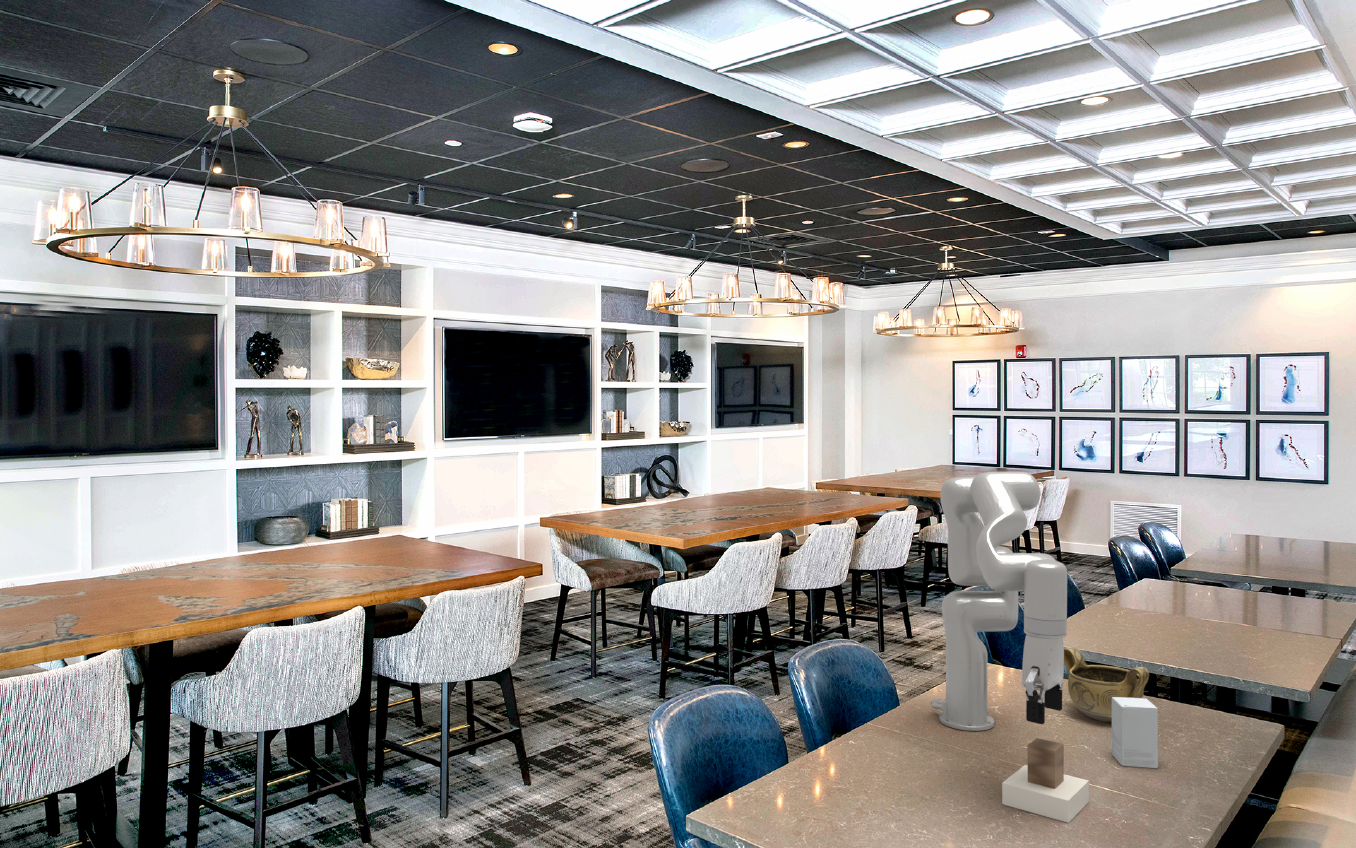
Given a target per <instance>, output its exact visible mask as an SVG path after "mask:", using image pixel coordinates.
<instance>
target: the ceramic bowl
mask: <svg viewBox="0 0 1356 848" xmlns="http://www.w3.org/2000/svg"><path fill="white" fill-rule="evenodd" d="M1064 666H1065V667H1066V671H1067V673H1068V680H1067V687H1068V688H1067V689H1068V693H1069V696H1070V699H1071V702H1072V703H1073V705H1074V706H1075V707H1076V708H1077V710H1079V711H1080V712H1081V713H1083V715H1085V716H1087V717H1089V718H1091V719H1093V720H1095V719H1096V720H1097V721H1099V722H1105V723H1107V722H1108V723H1112V697H1126V698H1144V692H1145V691H1144V690H1145V687H1146V685H1147V683H1148V681H1149V679H1150V678H1149V677H1150V671H1149V670H1148V668H1147V667H1145V666H1138V667H1134V668H1131V669H1127V668H1121V667H1118V666H1112V665H1111V666H1110V665H1109V666H1108V665H1101V664H1087V663H1086V661H1085V659H1084V657H1083V654H1082V651H1080V649H1079V648H1077V647H1074V646H1073V647H1066V648H1064ZM1096 720H1095V721H1096Z"/></svg>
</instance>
